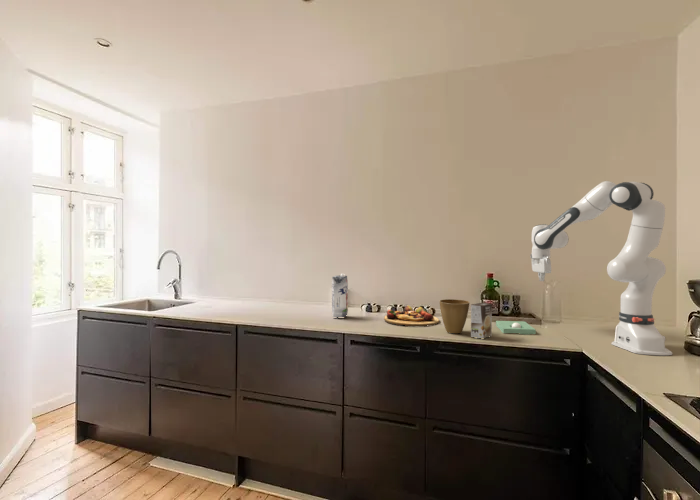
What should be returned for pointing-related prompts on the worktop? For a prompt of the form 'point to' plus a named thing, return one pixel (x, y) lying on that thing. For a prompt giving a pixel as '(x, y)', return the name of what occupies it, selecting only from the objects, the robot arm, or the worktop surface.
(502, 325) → the putting board
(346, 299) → the juice carton
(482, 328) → the coffee box
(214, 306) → the worktop surface
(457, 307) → the plant pot
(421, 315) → the wooden plate with food
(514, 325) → the ball
